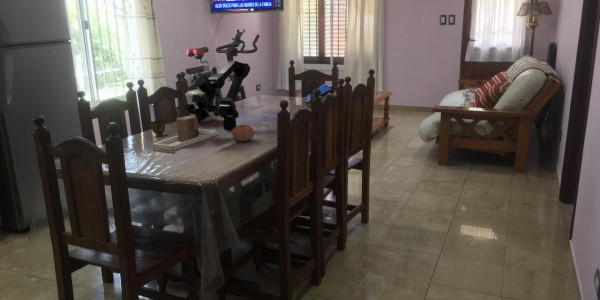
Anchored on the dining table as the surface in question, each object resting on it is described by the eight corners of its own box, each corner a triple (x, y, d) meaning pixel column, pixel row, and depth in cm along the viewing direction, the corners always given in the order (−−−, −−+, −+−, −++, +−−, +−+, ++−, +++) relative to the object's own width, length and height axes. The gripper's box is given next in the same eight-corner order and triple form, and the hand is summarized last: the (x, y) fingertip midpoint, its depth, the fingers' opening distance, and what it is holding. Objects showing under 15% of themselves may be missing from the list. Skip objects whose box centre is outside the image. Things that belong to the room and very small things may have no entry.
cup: (169, 135, 248) (168, 120, 246) (161, 138, 241) (159, 123, 239) (157, 134, 250) (155, 119, 248) (149, 137, 243) (147, 122, 241)
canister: (212, 123, 272) (209, 87, 267) (182, 123, 275) (179, 87, 270) (222, 117, 289) (220, 83, 284) (194, 117, 292) (191, 83, 287)
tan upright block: (189, 137, 234) (187, 115, 231) (199, 138, 231) (197, 116, 228) (178, 141, 227) (176, 118, 224) (188, 142, 224) (186, 119, 222)
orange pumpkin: (234, 144, 225) (232, 128, 223) (231, 139, 235) (229, 123, 233) (256, 142, 227) (255, 126, 225) (252, 137, 238) (251, 121, 235)
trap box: (198, 135, 244) (197, 129, 243) (216, 137, 239) (216, 130, 238) (153, 151, 217) (152, 143, 216) (173, 153, 212) (172, 146, 211)
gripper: (185, 87, 237) (172, 113, 230) (215, 89, 229) (202, 115, 222) (196, 100, 246) (184, 126, 239) (226, 102, 237) (214, 128, 231)
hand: (195, 123), depth 233 cm, fingers closed
